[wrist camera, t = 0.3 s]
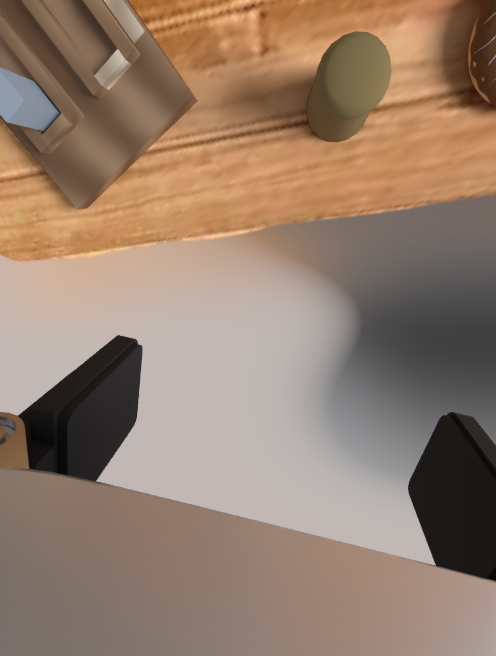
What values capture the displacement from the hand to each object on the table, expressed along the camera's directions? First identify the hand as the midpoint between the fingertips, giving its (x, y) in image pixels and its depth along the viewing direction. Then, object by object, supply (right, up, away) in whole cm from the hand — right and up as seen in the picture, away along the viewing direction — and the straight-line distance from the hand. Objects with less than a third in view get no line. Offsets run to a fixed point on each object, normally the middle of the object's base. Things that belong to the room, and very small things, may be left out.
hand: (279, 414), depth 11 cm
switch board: (-21, +32, +24) cm, 45 cm away
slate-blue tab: (-21, +25, +24) cm, 40 cm away
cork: (+8, +24, +23) cm, 34 cm away
